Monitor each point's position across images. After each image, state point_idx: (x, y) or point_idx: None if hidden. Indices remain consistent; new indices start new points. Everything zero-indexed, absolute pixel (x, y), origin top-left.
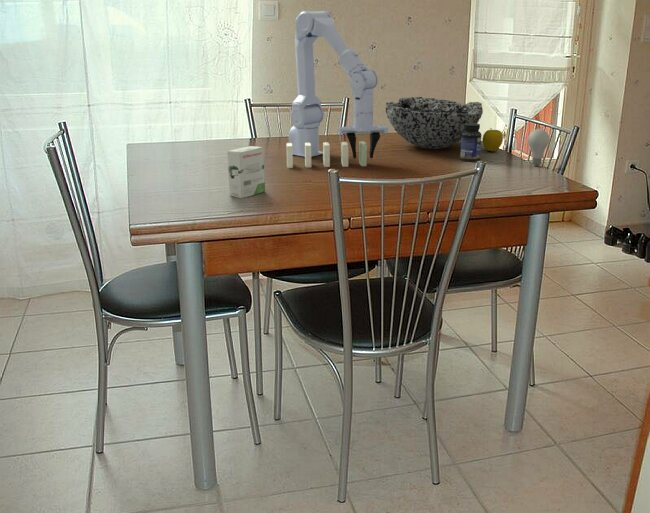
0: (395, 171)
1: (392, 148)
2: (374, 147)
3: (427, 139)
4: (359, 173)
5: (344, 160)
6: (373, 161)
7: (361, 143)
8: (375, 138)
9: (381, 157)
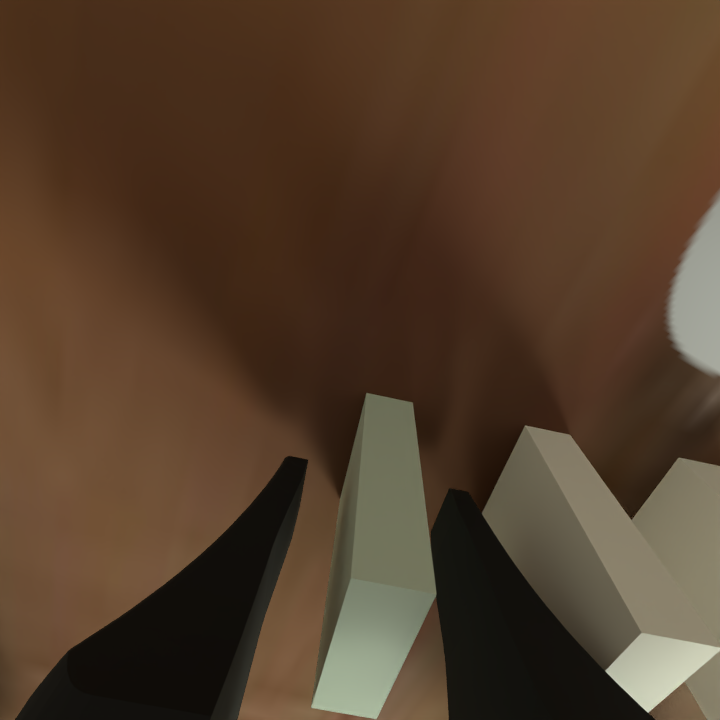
0: (132, 34)
1: None
2: (236, 531)
3: None
4: (600, 65)
5: (582, 470)
6: None
7: (398, 646)
8: (157, 664)
9: None
